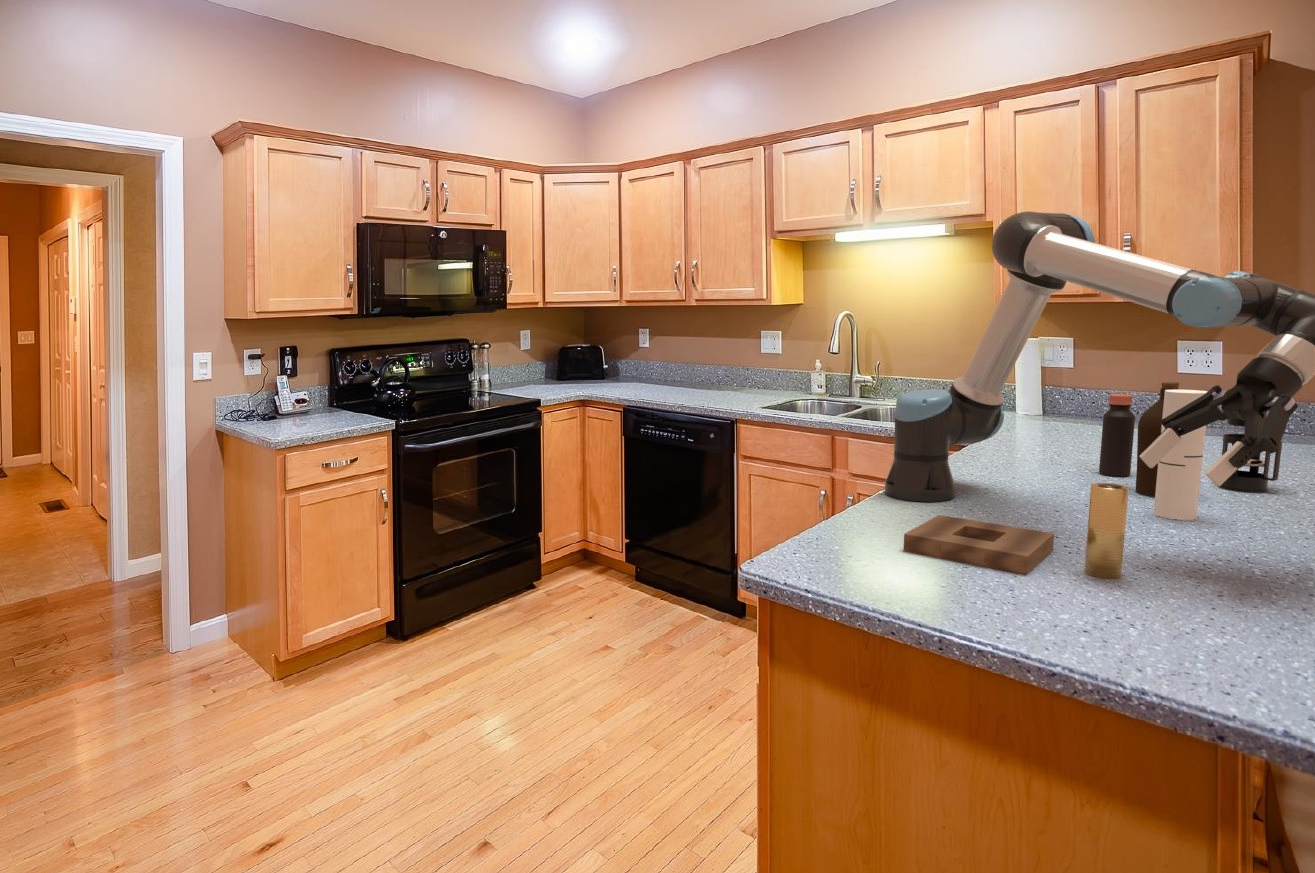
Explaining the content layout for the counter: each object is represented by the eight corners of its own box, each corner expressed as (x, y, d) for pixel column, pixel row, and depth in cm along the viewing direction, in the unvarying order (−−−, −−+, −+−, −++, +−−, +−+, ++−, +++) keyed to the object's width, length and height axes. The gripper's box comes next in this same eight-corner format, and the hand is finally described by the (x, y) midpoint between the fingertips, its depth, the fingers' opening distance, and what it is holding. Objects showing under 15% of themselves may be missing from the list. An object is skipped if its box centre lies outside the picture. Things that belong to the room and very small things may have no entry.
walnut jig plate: (903, 550, 132) (904, 533, 131) (937, 530, 144) (938, 514, 143) (1026, 574, 119) (1027, 556, 118) (1053, 550, 131) (1054, 533, 130)
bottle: (1119, 478, 186) (1126, 397, 183) (1092, 473, 192) (1099, 395, 188) (1136, 475, 189) (1143, 395, 186) (1109, 470, 195) (1115, 393, 192)
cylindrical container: (1203, 521, 147) (1216, 393, 143) (1163, 519, 149) (1175, 393, 145) (1186, 511, 154) (1198, 389, 150) (1147, 510, 156) (1158, 389, 152)
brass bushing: (1081, 574, 119) (1087, 486, 117) (1088, 565, 123) (1094, 480, 120) (1117, 580, 116) (1125, 490, 113) (1124, 572, 119) (1131, 485, 117)
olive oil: (1160, 500, 164) (1171, 385, 160) (1120, 489, 174) (1130, 381, 170) (1201, 497, 166) (1212, 383, 162) (1159, 487, 176) (1169, 379, 172)
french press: (1204, 485, 177) (1214, 387, 173) (1227, 481, 181) (1237, 385, 177) (1263, 496, 166) (1275, 392, 163) (1285, 491, 170) (1297, 389, 167)
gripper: (1374, 396, 104) (1260, 506, 106) (1226, 381, 129) (1135, 470, 130) (1343, 359, 103) (1228, 470, 104) (1200, 351, 128) (1108, 441, 129)
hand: (1176, 470), depth 117 cm, fingers open, 13 cm apart
